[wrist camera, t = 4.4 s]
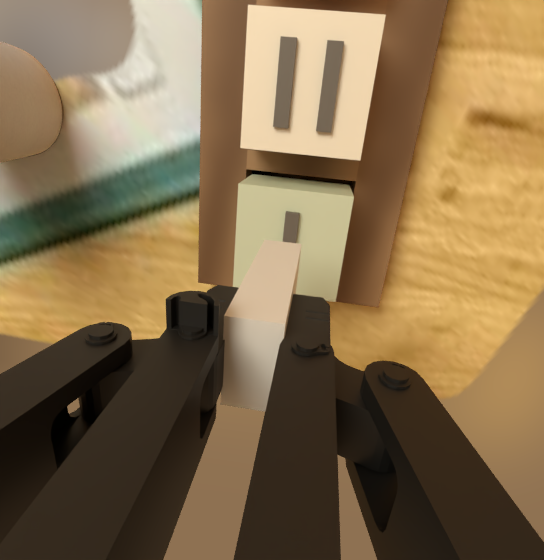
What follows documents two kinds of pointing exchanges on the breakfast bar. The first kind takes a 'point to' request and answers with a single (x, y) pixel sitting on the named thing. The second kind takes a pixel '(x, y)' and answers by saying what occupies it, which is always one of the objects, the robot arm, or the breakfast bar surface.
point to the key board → (365, 173)
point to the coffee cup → (26, 105)
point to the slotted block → (295, 227)
